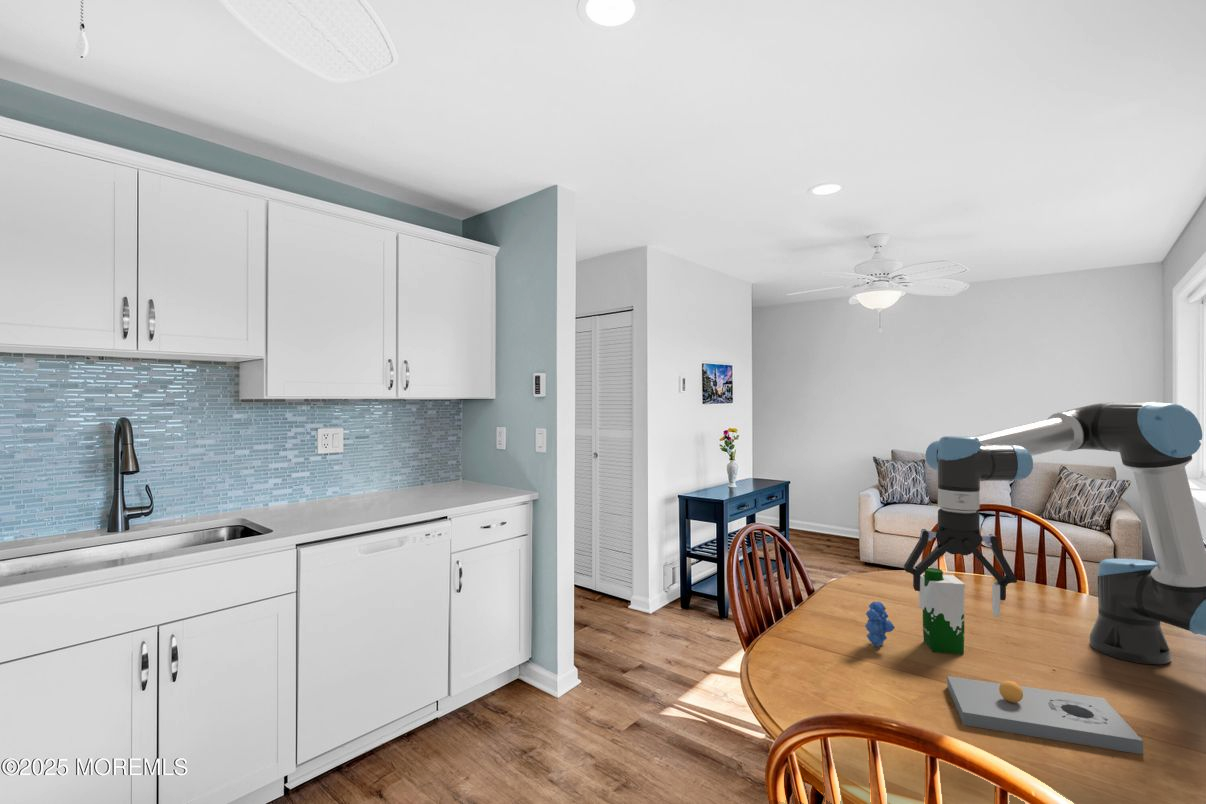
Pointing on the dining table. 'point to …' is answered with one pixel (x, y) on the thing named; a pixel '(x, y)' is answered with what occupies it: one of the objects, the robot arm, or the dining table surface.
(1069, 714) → the plate
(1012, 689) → the ball
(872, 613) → the grapes
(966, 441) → the robot arm
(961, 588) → the milk carton
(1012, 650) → the dining table surface
